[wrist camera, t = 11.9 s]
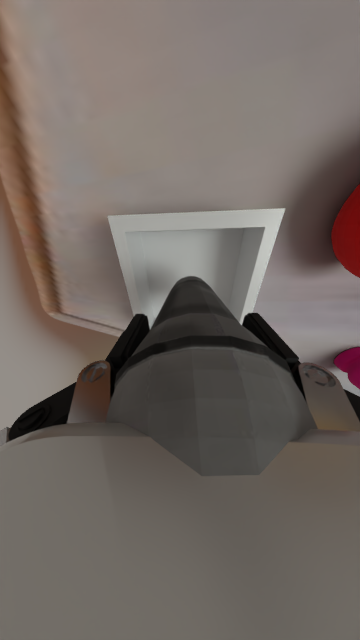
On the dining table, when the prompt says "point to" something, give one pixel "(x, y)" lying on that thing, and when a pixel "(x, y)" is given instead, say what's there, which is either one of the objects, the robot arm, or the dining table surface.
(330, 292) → the dining table surface
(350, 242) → the tomato
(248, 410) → the beverage cup
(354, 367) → the pepper mill
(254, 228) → the box
